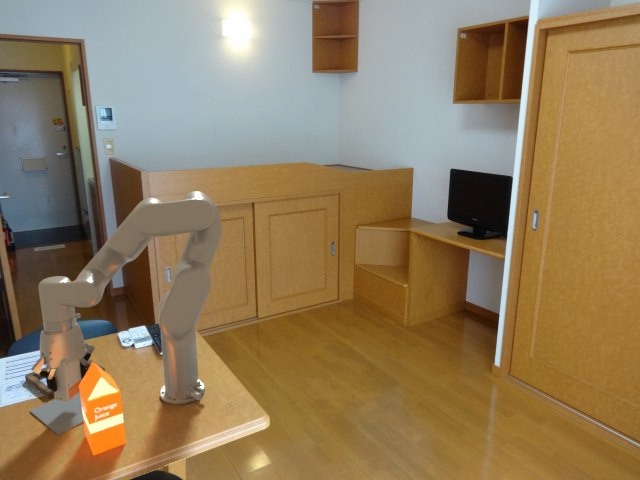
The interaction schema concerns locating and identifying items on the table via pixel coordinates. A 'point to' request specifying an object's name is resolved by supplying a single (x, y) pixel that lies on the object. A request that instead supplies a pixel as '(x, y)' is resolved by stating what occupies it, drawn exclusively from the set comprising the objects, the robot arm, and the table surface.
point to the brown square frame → (40, 386)
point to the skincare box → (67, 380)
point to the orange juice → (101, 410)
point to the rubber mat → (60, 414)
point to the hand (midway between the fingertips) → (67, 383)
